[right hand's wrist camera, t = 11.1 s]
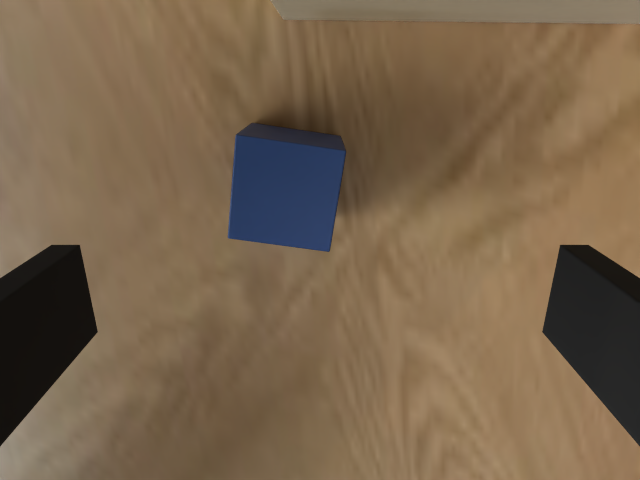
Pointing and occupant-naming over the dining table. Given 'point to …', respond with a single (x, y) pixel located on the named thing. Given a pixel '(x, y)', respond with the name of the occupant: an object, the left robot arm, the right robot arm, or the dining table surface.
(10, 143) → the dining table surface
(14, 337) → the right robot arm
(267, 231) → the block
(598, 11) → the chest
